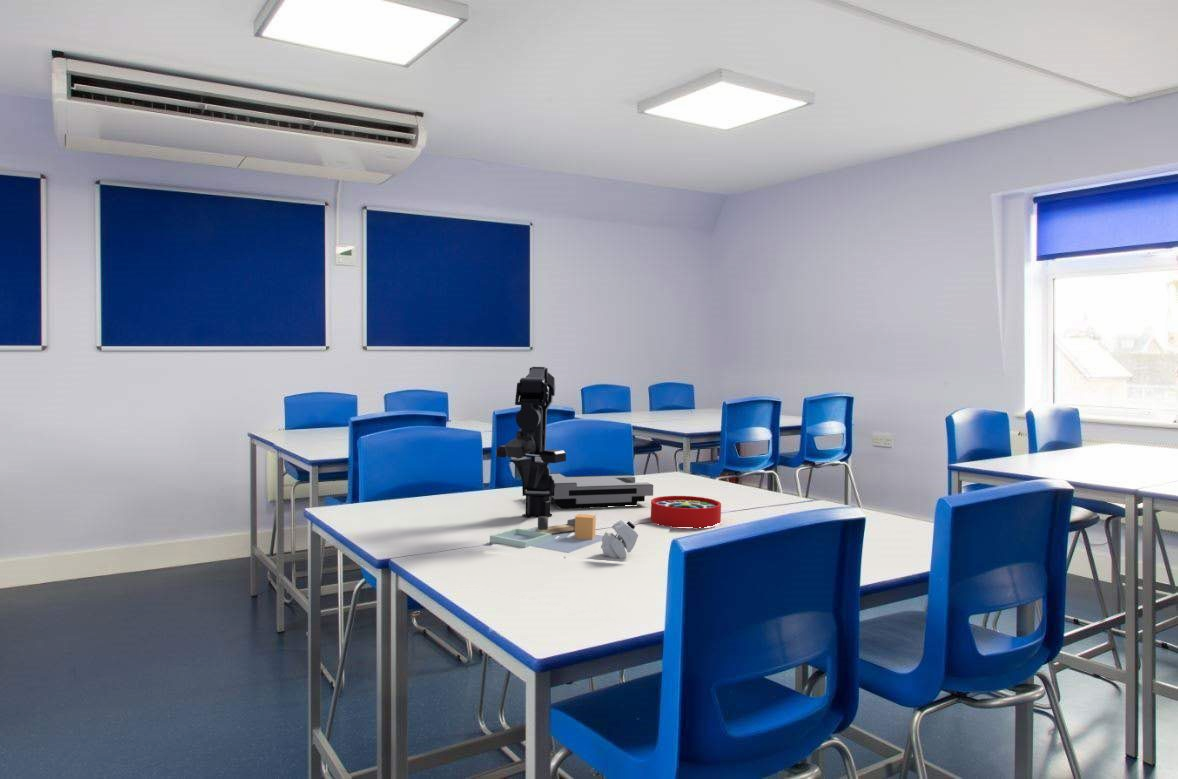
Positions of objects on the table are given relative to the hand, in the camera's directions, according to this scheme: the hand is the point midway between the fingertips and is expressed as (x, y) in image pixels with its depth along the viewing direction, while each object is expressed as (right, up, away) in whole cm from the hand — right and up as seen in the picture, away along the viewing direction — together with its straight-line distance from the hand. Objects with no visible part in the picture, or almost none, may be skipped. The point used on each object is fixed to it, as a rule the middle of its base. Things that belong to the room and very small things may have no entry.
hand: (529, 486), depth 208 cm
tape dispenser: (+22, -14, -20) cm, 33 cm away
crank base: (+6, -13, -5) cm, 15 cm away
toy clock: (+43, -13, +22) cm, 50 cm away
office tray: (+17, -11, +49) cm, 53 cm away
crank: (+8, -12, +2) cm, 14 cm away
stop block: (+14, -13, -3) cm, 19 cm away
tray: (-2, -13, -7) cm, 15 cm away
